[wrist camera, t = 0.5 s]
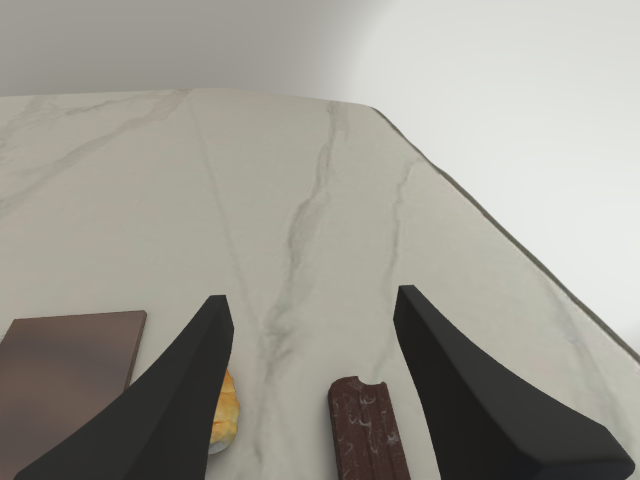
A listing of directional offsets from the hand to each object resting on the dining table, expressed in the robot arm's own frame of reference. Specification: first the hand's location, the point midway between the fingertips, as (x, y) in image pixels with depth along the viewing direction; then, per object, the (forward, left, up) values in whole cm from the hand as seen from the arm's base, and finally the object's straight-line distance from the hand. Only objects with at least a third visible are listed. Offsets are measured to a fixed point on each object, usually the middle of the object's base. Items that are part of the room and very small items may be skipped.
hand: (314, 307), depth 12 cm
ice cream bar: (-6, -6, -18) cm, 20 cm away
